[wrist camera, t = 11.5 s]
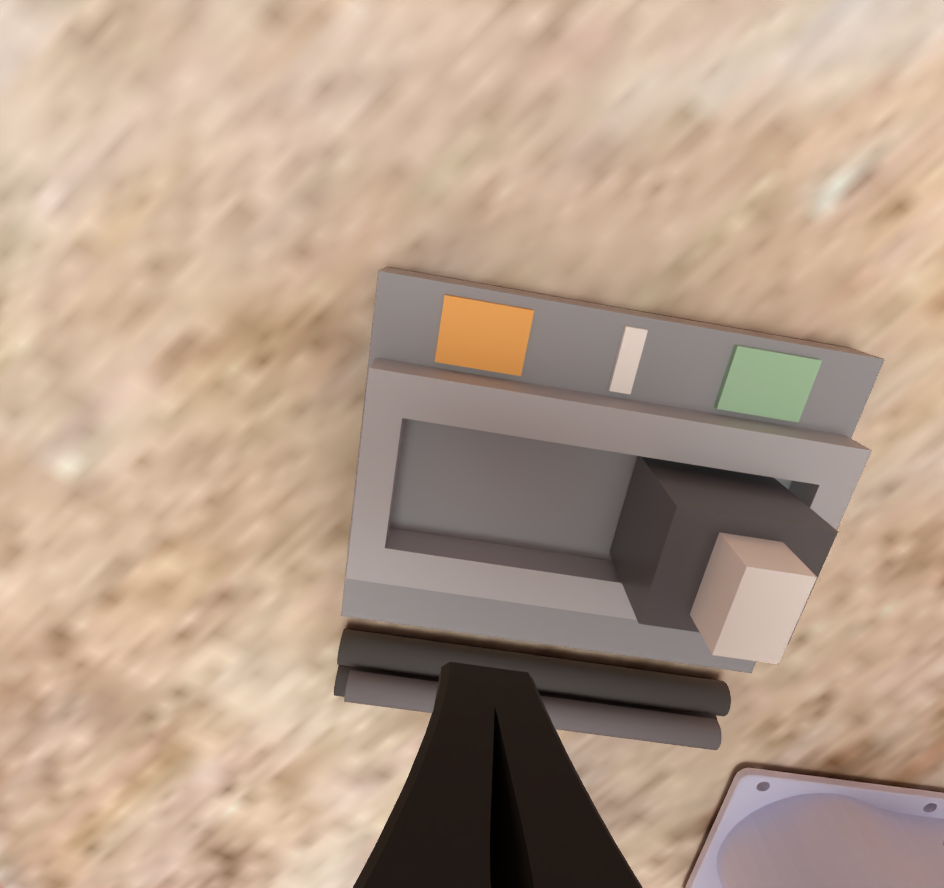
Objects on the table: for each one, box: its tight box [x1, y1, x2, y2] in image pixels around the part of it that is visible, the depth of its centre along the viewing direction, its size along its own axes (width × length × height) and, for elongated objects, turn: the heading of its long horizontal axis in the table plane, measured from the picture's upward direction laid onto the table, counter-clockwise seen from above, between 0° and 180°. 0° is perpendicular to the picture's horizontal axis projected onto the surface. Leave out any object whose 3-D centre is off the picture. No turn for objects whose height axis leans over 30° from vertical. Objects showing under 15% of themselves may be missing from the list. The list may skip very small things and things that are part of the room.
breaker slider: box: [610, 456, 838, 664], centre depth 15 cm, size 4×3×5 cm
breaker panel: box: [341, 267, 884, 673], centre depth 18 cm, size 14×11×3 cm
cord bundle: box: [334, 629, 731, 750], centre depth 21 cm, size 14×3×2 cm, turn 80°
